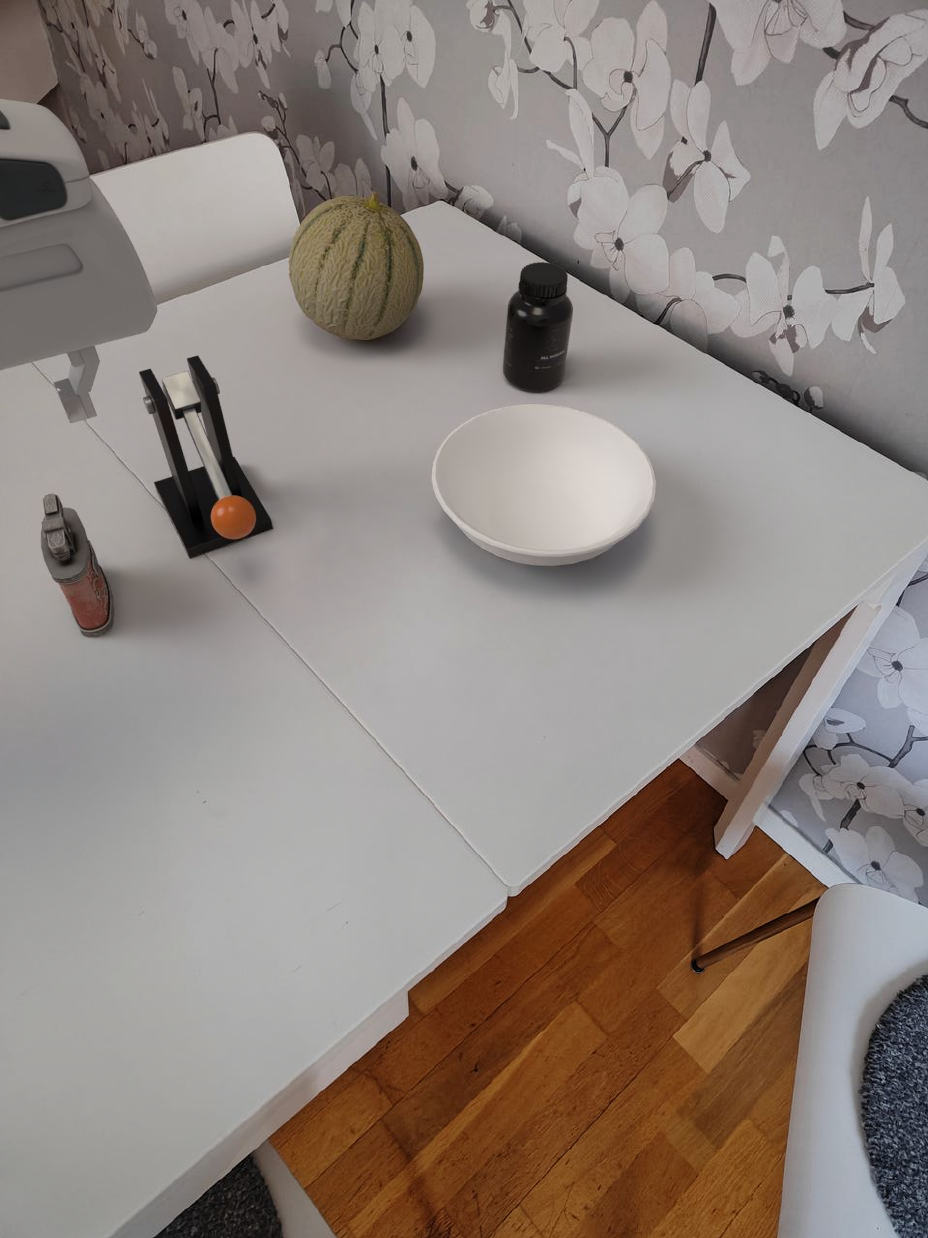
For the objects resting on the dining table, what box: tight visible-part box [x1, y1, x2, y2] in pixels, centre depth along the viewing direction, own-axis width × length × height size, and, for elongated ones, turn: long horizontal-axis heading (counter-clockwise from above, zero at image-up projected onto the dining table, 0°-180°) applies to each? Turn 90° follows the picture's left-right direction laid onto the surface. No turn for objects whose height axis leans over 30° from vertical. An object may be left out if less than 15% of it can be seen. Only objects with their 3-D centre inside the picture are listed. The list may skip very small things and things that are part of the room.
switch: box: [161, 370, 256, 539], centre depth 72 cm, size 14×4×4 cm
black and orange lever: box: [138, 354, 274, 559], centre depth 76 cm, size 10×8×15 cm
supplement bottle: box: [502, 261, 574, 393], centre depth 92 cm, size 7×7×12 cm
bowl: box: [431, 403, 657, 567], centre depth 79 cm, size 20×20×6 cm
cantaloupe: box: [288, 190, 425, 341], centre depth 95 cm, size 15×15×15 cm
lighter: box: [40, 493, 115, 639], centre depth 71 cm, size 8×3×10 cm, turn 21°
